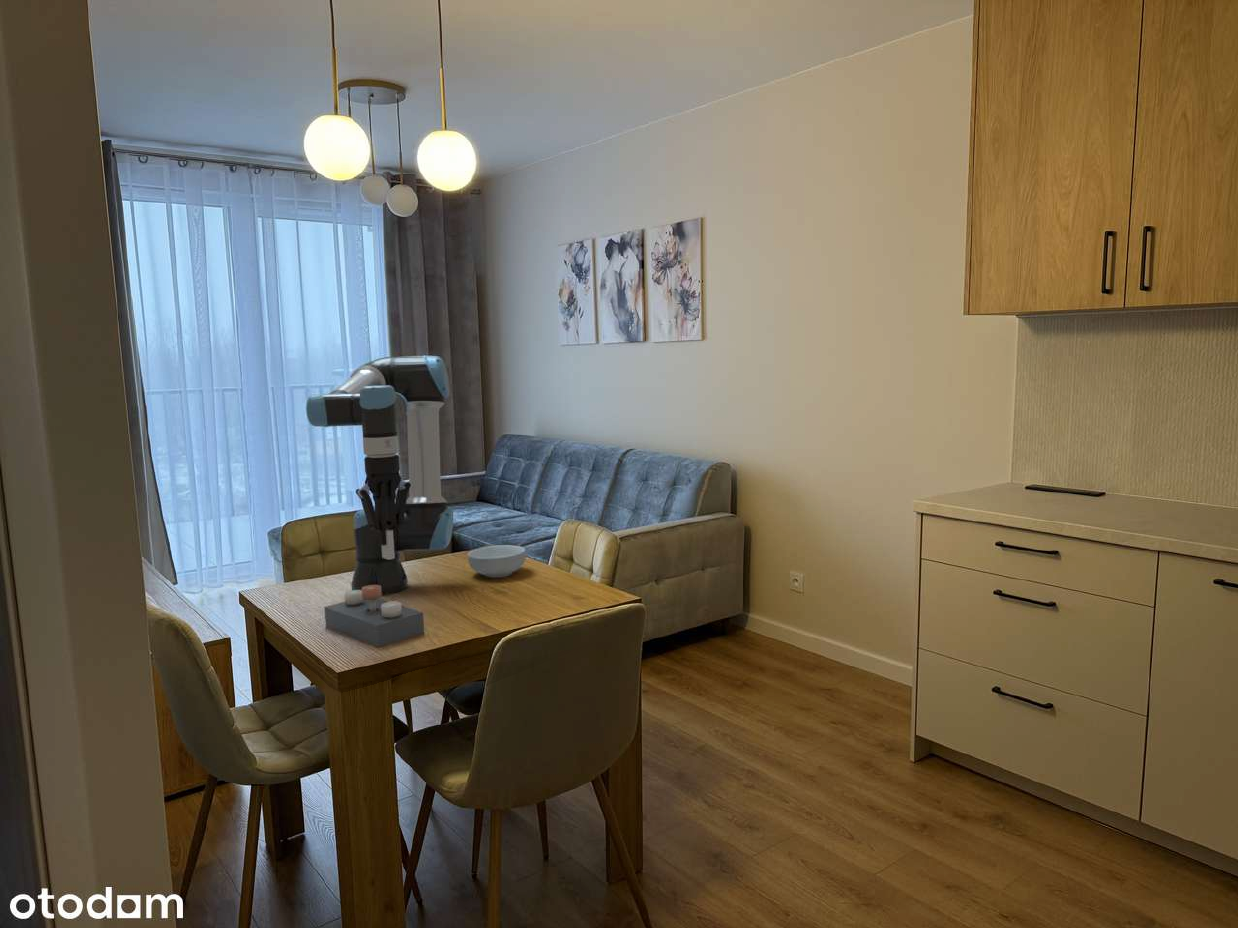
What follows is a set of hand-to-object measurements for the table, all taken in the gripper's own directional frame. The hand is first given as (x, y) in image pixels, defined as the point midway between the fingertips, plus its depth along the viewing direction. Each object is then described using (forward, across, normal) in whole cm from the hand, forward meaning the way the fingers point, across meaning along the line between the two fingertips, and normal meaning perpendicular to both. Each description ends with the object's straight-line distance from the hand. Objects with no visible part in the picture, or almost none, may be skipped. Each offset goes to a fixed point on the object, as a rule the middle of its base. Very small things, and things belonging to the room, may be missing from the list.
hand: (388, 557), depth 186 cm
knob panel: (+19, 0, +8) cm, 20 cm away
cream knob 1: (+18, 0, +16) cm, 24 cm away
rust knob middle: (+16, 0, +8) cm, 17 cm away
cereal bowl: (+20, +51, +24) cm, 59 cm away
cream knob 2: (+18, 0, 0) cm, 18 cm away
